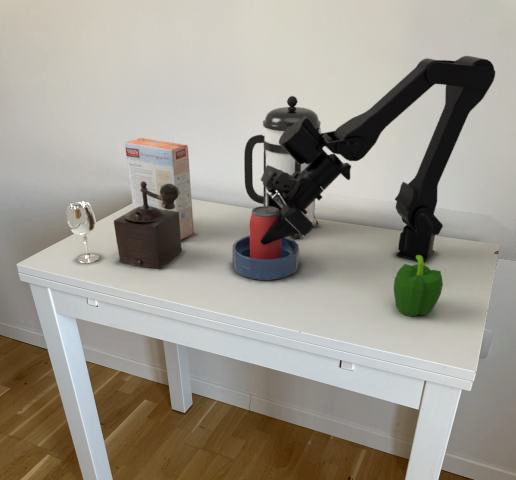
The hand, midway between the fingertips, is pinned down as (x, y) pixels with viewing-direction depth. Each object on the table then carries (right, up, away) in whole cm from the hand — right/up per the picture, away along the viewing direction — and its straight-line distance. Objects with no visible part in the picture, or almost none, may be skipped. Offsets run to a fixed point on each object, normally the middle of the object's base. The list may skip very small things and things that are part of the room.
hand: (258, 236), depth 111 cm
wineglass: (-37, -4, +7) cm, 38 cm away
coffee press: (+6, +7, +23) cm, 24 cm away
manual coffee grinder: (-22, -4, +7) cm, 23 cm away
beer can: (+1, -5, +4) cm, 7 cm away
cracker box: (-23, +5, +20) cm, 31 cm away
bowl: (+1, -6, +4) cm, 7 cm away
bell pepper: (+28, -16, -12) cm, 35 cm away
